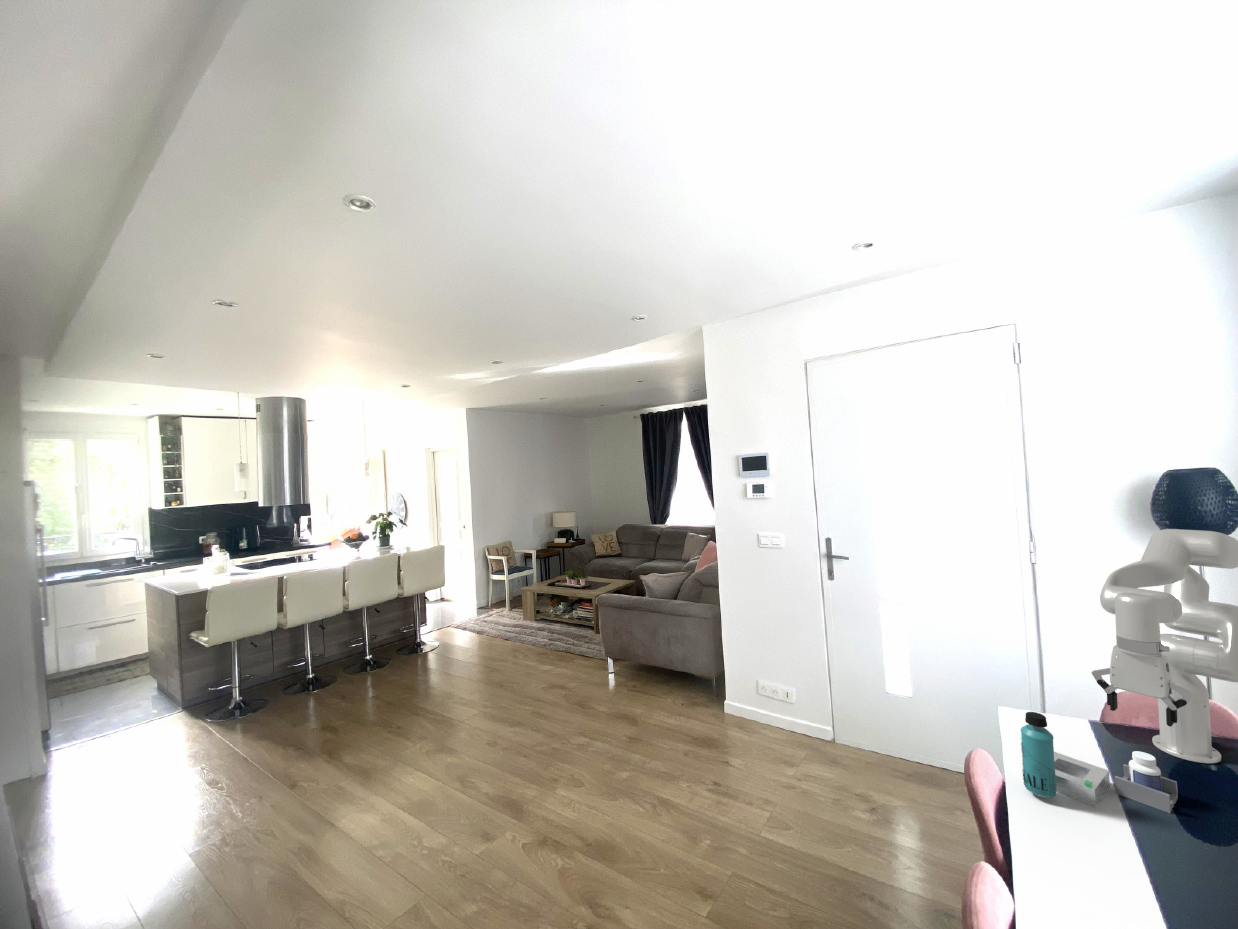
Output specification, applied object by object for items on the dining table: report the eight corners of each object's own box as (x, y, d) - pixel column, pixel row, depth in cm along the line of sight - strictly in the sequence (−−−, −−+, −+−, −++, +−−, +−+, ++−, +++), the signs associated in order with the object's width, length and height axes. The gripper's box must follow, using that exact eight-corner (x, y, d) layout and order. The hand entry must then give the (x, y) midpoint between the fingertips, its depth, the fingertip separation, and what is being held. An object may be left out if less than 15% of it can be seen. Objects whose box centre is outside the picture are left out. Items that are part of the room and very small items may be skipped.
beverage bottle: (1052, 790, 125) (1047, 710, 125) (1062, 807, 119) (1057, 723, 119) (1019, 785, 128) (1015, 706, 128) (1028, 801, 122) (1023, 718, 122)
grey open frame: (1124, 779, 128) (1123, 764, 128) (1177, 798, 120) (1176, 781, 120) (1115, 793, 123) (1114, 777, 123) (1170, 813, 115) (1168, 796, 115)
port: (1049, 764, 135) (1048, 747, 135) (1110, 786, 125) (1108, 768, 125) (1032, 782, 129) (1031, 764, 129) (1095, 806, 119) (1094, 787, 119)
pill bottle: (1169, 804, 118) (1166, 762, 118) (1142, 802, 119) (1139, 761, 119) (1150, 789, 124) (1147, 750, 124) (1124, 788, 125) (1122, 748, 125)
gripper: (1194, 652, 117) (1198, 726, 117) (1095, 634, 132) (1097, 700, 131) (1188, 659, 113) (1191, 736, 112) (1086, 639, 127) (1088, 707, 127)
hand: (1141, 716), depth 122 cm, fingers open, 9 cm apart
